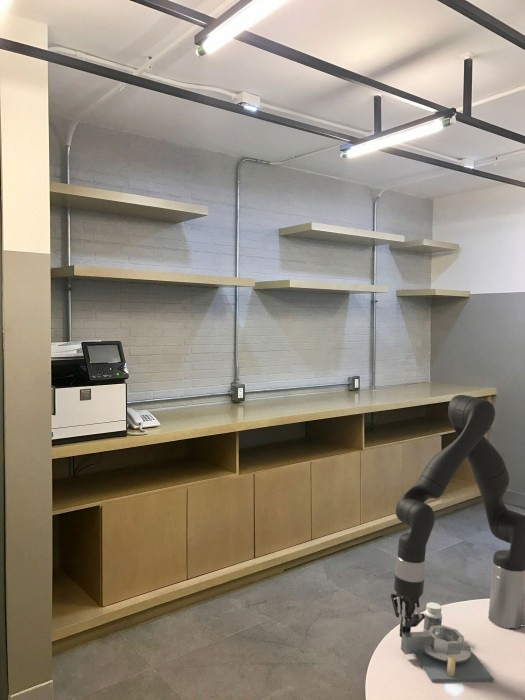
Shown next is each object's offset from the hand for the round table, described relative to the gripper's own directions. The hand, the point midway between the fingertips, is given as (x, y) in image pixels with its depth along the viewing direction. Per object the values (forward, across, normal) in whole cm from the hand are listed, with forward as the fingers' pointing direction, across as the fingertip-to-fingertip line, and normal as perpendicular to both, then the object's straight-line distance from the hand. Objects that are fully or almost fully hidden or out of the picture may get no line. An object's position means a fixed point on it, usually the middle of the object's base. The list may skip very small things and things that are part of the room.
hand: (404, 637), depth 153 cm
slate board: (+4, -7, -9) cm, 12 cm away
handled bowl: (+2, -4, -7) cm, 8 cm away
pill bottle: (+4, +5, -13) cm, 14 cm away
